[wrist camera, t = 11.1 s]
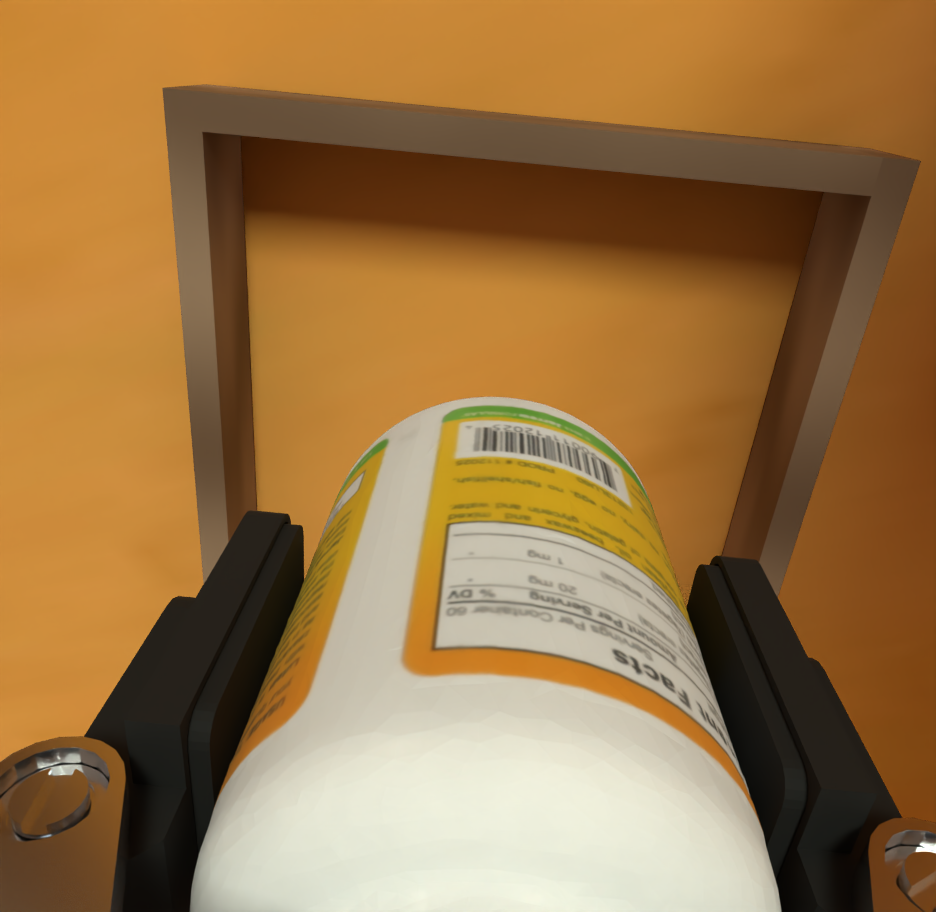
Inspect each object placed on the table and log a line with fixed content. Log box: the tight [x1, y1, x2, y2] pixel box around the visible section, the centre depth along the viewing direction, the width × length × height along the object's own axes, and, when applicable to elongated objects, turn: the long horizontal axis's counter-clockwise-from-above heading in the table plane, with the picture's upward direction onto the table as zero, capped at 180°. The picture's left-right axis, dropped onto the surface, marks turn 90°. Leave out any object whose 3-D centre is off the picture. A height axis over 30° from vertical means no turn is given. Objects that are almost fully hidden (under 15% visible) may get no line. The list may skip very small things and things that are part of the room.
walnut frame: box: [163, 85, 921, 598], centre depth 16 cm, size 12×12×2 cm
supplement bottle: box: [190, 397, 781, 912], centre depth 9 cm, size 5×5×10 cm
